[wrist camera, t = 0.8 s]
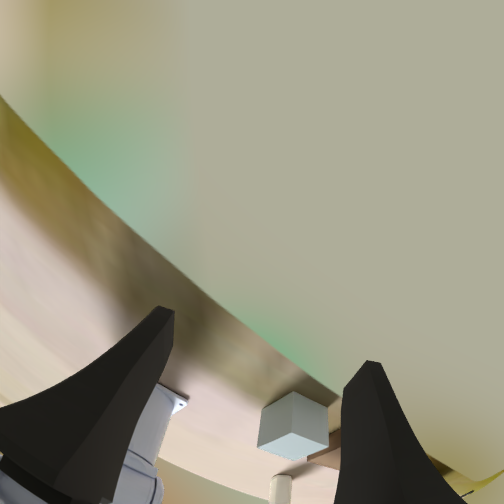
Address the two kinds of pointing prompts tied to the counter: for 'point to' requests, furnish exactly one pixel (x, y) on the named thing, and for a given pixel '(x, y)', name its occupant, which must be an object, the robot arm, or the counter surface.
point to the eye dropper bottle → (280, 489)
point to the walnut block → (329, 452)
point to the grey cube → (293, 427)
